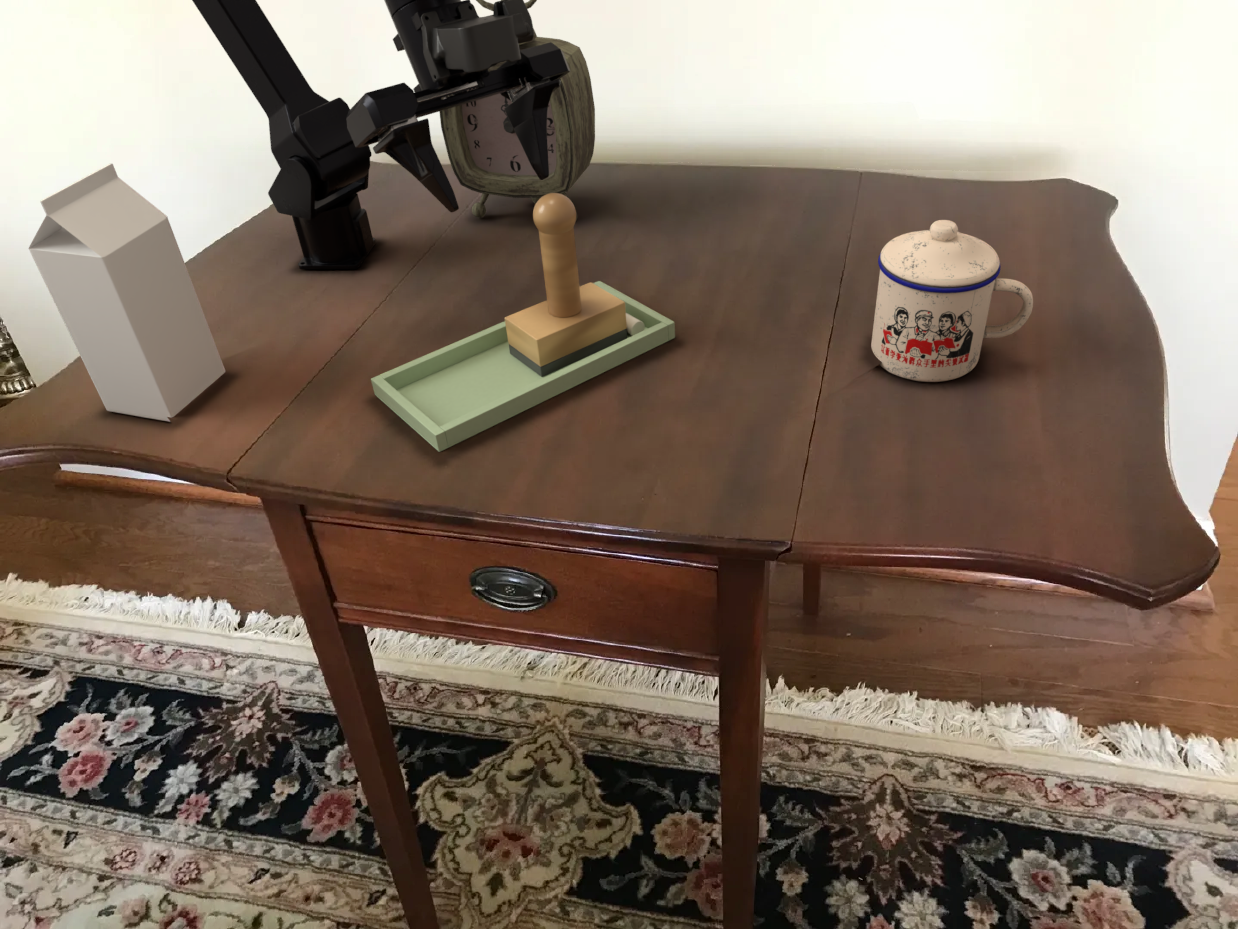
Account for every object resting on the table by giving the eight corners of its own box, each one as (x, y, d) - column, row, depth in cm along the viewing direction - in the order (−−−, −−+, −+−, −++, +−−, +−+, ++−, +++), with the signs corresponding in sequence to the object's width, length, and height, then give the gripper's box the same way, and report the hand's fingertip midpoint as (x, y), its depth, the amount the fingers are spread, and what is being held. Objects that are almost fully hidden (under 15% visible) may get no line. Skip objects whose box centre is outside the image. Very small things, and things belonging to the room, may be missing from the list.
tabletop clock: (458, 223, 106) (414, -25, 91) (489, 190, 113) (454, -46, 97) (581, 232, 102) (558, -25, 87) (606, 198, 109) (589, -47, 94)
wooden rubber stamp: (541, 377, 79) (520, 221, 71) (509, 353, 83) (486, 202, 74) (627, 338, 83) (617, 186, 75) (593, 317, 86) (580, 169, 78)
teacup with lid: (863, 379, 77) (879, 246, 70) (871, 323, 84) (886, 196, 77) (1021, 395, 75) (1054, 257, 67) (1016, 335, 81) (1046, 204, 74)
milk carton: (229, 378, 84) (149, 166, 72) (175, 425, 79) (79, 204, 67) (163, 368, 86) (75, 160, 74) (107, 413, 81) (2, 197, 69)
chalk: (630, 338, 83) (643, 336, 84) (632, 322, 82) (646, 320, 83) (588, 313, 87) (601, 311, 88) (590, 297, 86) (603, 296, 87)
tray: (440, 459, 73) (435, 435, 71) (376, 401, 79) (370, 378, 78) (675, 344, 84) (674, 321, 82) (601, 302, 90) (599, 280, 89)
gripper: (350, -13, 66) (443, 206, 70) (565, -59, 75) (637, 137, 79) (308, 46, 75) (392, 236, 79) (504, -1, 84) (570, 172, 88)
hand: (501, 194), depth 81 cm, fingers open, 9 cm apart
